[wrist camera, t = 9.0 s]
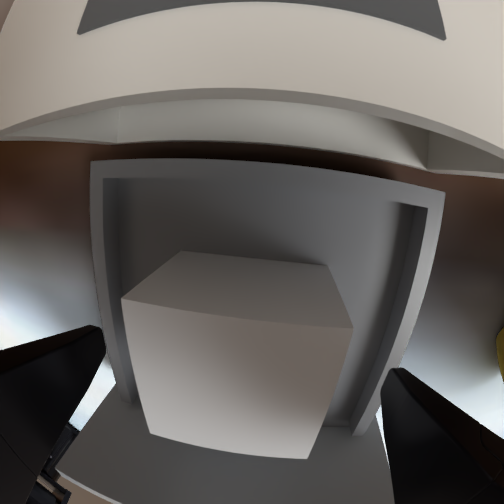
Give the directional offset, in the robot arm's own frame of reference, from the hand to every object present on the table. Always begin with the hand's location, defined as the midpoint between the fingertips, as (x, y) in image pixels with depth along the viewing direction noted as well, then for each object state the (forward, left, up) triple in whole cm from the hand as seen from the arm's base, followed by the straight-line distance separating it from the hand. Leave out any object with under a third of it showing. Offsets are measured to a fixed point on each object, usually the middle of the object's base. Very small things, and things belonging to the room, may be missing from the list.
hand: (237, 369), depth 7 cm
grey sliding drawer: (0, 0, -4) cm, 4 cm away
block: (0, 0, -3) cm, 3 cm away
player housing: (+10, +7, -4) cm, 13 cm away
